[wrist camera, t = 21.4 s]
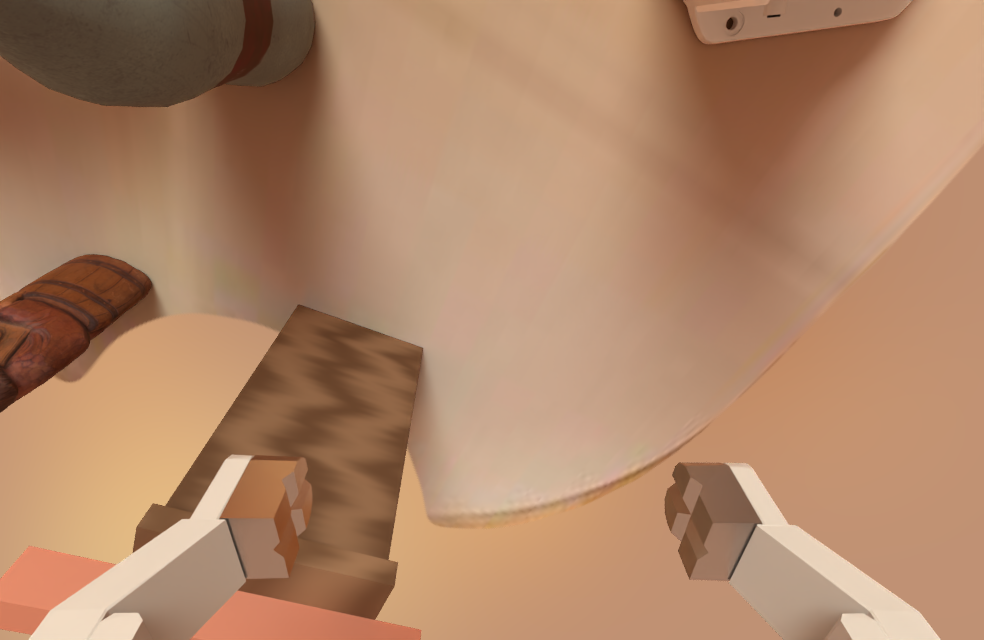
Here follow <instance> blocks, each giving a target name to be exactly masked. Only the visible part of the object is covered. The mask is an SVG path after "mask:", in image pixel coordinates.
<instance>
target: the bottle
mask: <svg viewBox="0 0 984 640" xmlns="http://www.w3.org/2000/svg"><path fill="white" fill-rule="evenodd" d="M314 28H315V20H314V11H313V3H312V1H311V0H0V56H2V57H3V58H4V59H5V60H7V61H8V62H9V63H11V64H12V65H13V66H14V67H16V68H17V69H19V70H20V71H22V72H23V73H25V74H27V75H28V76H30V77H31V78H33V79H34V80H36V81H38V82H39V83H41V84H42V85H44V86H45V87H47V88H48V89H51V90H54V91H57V92H60V93H63V94H66V95H69V96H71V97H74V98H77V99H80V100H84V101H88V102H92V103H96V104H100V105H106V106H132V107H169V106H172V105H175V104H178V103H181V102H183V101H186V100H189V99H192V98H195V97H197V96H199V95H201V94H203V93H204V92H206V91H208V90H210V89H212V88H215V87H217V86H220V85H222V84H230V85H240V86H264V85H267V84H270V83H273V82H276V81H279V80H281V79H282V78H284V77H285V76H287V75H288V74H290V73H291V72H292V71H293V70H294V69H296V68H297V67H298V66H299V65H300V64H301V63H302V62H303V61H304V59H305V57H306V55H307V53H308V51H309V50H310V48H311V45H312V39H313V34H314Z"/></svg>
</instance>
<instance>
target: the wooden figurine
mask: <svg viewBox="0 0 984 640" xmlns="http://www.w3.org/2000/svg"><path fill="white" fill-rule="evenodd" d="M150 288H151V281H150V279H149V278H148V277H147V276H146V275H145V274H144V273H143V272H141V271H140V270H137V269H135V268H134V267H132V266H130V265H129V264H127V263H126V262H124V261H121V260H118V259H114V258H111V257H109V256H103V255H95V254H92V255H84V256H80V257H77V258H75V259H73V260H70V261H69V262H67V263H65V264H63V265H61V266H60V267H58V268H56V269H54V270H53V271H51V272H49V273H47V274H45V275H43V276H42V277H40V278H38V279H37V280H35V281H34V282H32V283H30V284H28V285H27V286H25V287H24V288H22V289H21V290H20V291H19V292H17V293H14V294H12V295H11V296H9V297H7V298H5V299H4V300H2V301H0V412H2V411H3V410H5V409H6V408H7V407H8V406H9V405H11V404H12V403H14V402H15V401H16V400H18V399H20V398H22V397H23V396H25V395H26V394H28V393H30V392H31V391H32V390H34V389H35V388H37V387H38V386H40V385H42V384H44V383H45V382H46V381H48V379H50V378H52V377H53V376H54V375H55V374H56V373H58V372H59V371H61V370H62V369H64V368H65V367H66V366H68V365H69V364H70V363H71V362H72V361H74V360H75V359H76V358H78V357H79V356H80V355H81V354H82V353H84V352H85V351H86V350H87V348H88V347H89V344H90V340H91V339H93V338H95V337H96V336H97V335H99V334H100V333H101V332H103V331H104V330H105V329H106V328H107V327H108V326H110V325H111V324H112V323H113V322H114V321H115V320H116V319H118V318H119V317H120V316H121V315H122V314H124V313H125V312H126V311H127V310H129V309H130V308H132V307H133V306H134V305H136V304H137V303H138V302H139V301H140V300H141V299H143V298H144V297H145V296H146V295H147V294H148V292H149V291H150Z"/></svg>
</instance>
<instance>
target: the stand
mask: <svg viewBox="0 0 984 640" xmlns="http://www.w3.org/2000/svg"><path fill="white" fill-rule="evenodd" d="M422 351H423V348H421V347H419V346H416V345H413V344H410V343H407V342H404V341H401V340H399V339H396V338H393V337H390V336H387V335H384V334H381V333H379V332H376V331H373V330H370V329H367V328H364V327H361V326H359V325H356V324H353V323H350V322H347V321H344V320H341V319H339V318H336V317H333V316H330V315H327V314H324V313H321V312H319V311H316V310H313V309H310V308H307V307H304V306H301V305H298V306H297V308H296V309H295V311H294V312H293V314H292V315H291V317H290V318H289V320H288V321H287V323H286V324H285V326H284V327H283V329H282V330H281V332H280V333H279V335H278V336H277V338H276V339H275V341H274V342H273V344H272V345H271V347H270V349H269V350H268V352H267V353H266V354H265V356H264V358H263V359H262V361H261V362H260V364H259V365H258V367H257V368H256V370H255V371H254V373H253V374H252V376H251V377H250V379H249V380H248V382H247V383H246V385H245V386H244V388H243V389H242V391H241V392H240V394H239V395H238V397H237V398H236V400H235V401H234V403H233V405H232V406H231V408H230V409H229V410H228V412H227V413H226V415H225V416H224V418H223V419H222V421H221V423H220V424H219V426H218V427H217V429H216V430H215V432H214V433H213V435H212V436H211V438H210V439H209V441H208V442H207V444H206V445H205V447H204V448H203V450H202V451H201V453H200V454H199V456H198V457H197V459H196V460H195V462H194V463H193V465H192V466H191V468H190V469H189V471H188V473H187V474H186V475H185V477H184V479H183V480H182V481H181V483H180V485H179V486H178V487H177V489H176V491H175V492H174V494H173V495H172V497H171V498H170V500H169V501H168V503H167V504H166V506H162V505H158V504H152V506H151V507H150V509H149V510H148V511H147V513H146V514H145V516H144V517H143V518H142V520H141V521H140V523H139V524H138V526H137V528H136V534H135V541H134V548H133V553H134V552H135V551H137V550H138V549H140V548H141V547H142V546H144V545H145V544H147V543H148V542H150V541H151V540H153V539H154V538H155V537H157V536H158V535H160V534H161V533H163V532H164V531H166V530H167V529H168V528H170V527H171V526H173V525H174V524H176V523H177V522H179V521H180V520H181V519H190V518H191V516H192V514H193V513H194V511H195V509H196V508H197V506H198V504H199V502H200V501H201V499H202V497H203V496H204V494H205V492H206V491H207V489H208V487H209V486H210V484H211V482H212V481H213V479H214V477H215V476H216V474H217V472H218V471H219V469H220V467H221V466H222V464H223V462H224V461H225V460H226V459H227V458H228V457H229V456H231V455H254V456H255V455H264V456H289V457H303V458H305V459H306V463H307V467H308V471H307V473H306V476H305V480H307V481H308V482H309V483H310V484H311V488H312V508H311V514H310V518H309V522H308V525H307V528H306V530H304V531H303V532H302V533H301V534H300V535H299V536H297V539H298V543H299V551H298V554H297V557H296V559H295V562H294V565H293V568H292V571H291V574H290V577H289V578H264V579H246V582H245V583H244V584H243V585H242V586H241V587H240V588H239V589H238V590H237V591H242V592H247V593H251V594H256V595H261V596H265V597H270V598H275V599H279V600H284V601H289V602H293V603H298V604H303V605H307V606H312V607H317V608H321V609H326V610H331V611H335V612H340V613H345V614H349V615H354V616H359V617H363V618H368V619H373V620H375V619H376V617H377V615H378V614H379V612H380V610H381V609H382V607H383V605H384V603H385V601H386V600H387V598H388V596H389V595H390V593H391V591H392V589H393V588H394V585H395V579H396V571H397V565H398V563H397V562H394V561H390V560H388V559H389V553H390V546H391V540H392V534H393V528H394V522H395V516H396V509H397V504H398V498H399V492H400V485H401V479H402V473H403V466H404V461H405V455H406V449H407V443H408V437H409V431H410V425H411V418H412V412H413V406H414V400H415V394H416V388H417V382H418V376H419V370H420V364H421V357H422Z"/></svg>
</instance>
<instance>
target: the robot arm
mask: <svg viewBox="0 0 984 640" xmlns="http://www.w3.org/2000/svg"><path fill="white" fill-rule="evenodd" d="M683 1H684V3H685V5H686V6H687V9H688V12H689V16H690V19H691V23H692V26H693V29H694V31H695V34H696V36H697V37H698V39H699V40H700V41H701V42H702V43H705V44H718V43H725V42H733V41H740V40H747V39H755V38H762V37H770V36H777V35H785V34H792V33H799V32H807V31H814V30H822V29H829V28H836V27H844V26H851V25H859V24H866V23H873V22H879V21H884V20H889V19H892V18H894V17H896V16H898V15H899V14H900V13H901V12H902V11H903V10H904V9H905V8H906V7H907V6H908V5H909V4H910V3H911V2H912V1H913V0H683ZM730 17H731V18H732V19H733V26H732V27H731V29H729V30H728V29H727V27H726V22H727V20H728V19H729V18H730ZM307 471H308V467H307V463H306V459H305V458H303V457H289V456H264V455H255V456H254V455H231V456H229V457H228V458H227V459H226V460H225V461H224V462H223V464H222V466H221V467H220V469H219V471H218V472H217V474H216V476H215V477H214V479H213V481H212V482H211V484H210V486H209V487H208V489H207V491H206V492H205V494H204V496H203V497H202V499H201V501H200V502H199V504H198V506H197V508H196V509H195V511H194V513H193V514H192V516H191V518H190V519H181V520H180V521H179V522H177V523H176V524H174V525H173V526H171V527H170V528H168V529H167V530H166V531H164V532H163V533H161V534H160V535H158V536H157V537H155V538H154V539H153V540H151V541H150V542H148V543H147V544H145V545H144V546H142V547H141V548H140V549H138V550H137V551H135V552H134V553H132V554H131V555H130V556H128V557H127V558H125V559H124V560H122V561H121V562H119V563H118V564H116V565H115V566H114V567H112V568H111V569H109V570H108V571H106V572H105V573H103V574H102V575H101V576H99V577H98V578H96V579H95V580H93V581H92V582H90V583H89V584H88V585H86V586H85V587H83V588H82V589H80V590H79V591H78V592H76V593H75V594H73V595H72V596H70V597H69V598H67V599H66V600H65V601H63V602H62V603H60V604H59V605H57V606H56V607H54V608H53V609H52V610H50V611H49V613H48V614H47V616H46V617H45V618H44V620H43V621H42V622H41V624H40V625H39V626H38V628H37V629H36V630H35V632H34V633H33V634H32V636H31V637H30V638H29V640H190V639H191V638H192V637H193V636H194V635H195V634H196V633H197V631H198V630H199V629H200V628H201V627H202V626H203V625H204V624H205V623H206V622H207V621H208V620H209V619H210V618H211V617H212V616H213V615H214V614H215V613H216V612H217V611H218V610H219V609H220V608H221V607H222V606H223V605H224V604H225V603H226V602H227V601H228V600H229V599H230V598H231V597H232V596H233V594H234V593H235V592H236V591H237V590H238V589H239V588H240V587H241V586H242V585H243V584H244V583H245V582H246V579H264V578H289V577H290V574H291V571H292V568H293V565H294V562H295V559H296V557H297V554H298V551H299V543H298V539H297V536H299V535H300V534H301V533H302V532H303V531H304V530H306V528H307V525H308V522H309V518H310V514H311V508H312V488H311V484H310V483H309V482H308V481H307V480H305V476H306V473H307ZM673 477H674V480H675V482H676V483H675V484H673V485H672V486H671V487H670V488H668V490H667V493H666V497H665V515H666V519H667V523H668V526H669V528H670V531H671V533H672V534H673V535H675V536H676V537H677V538H678V539H679V540H680V541H681V544H680V547H679V550H678V552H679V554H680V557H681V559H682V562H683V564H684V567H685V569H686V572H687V574H688V577H689V579H690V580H719V581H730V582H729V584H730V585H731V586H732V587H733V588H734V589H735V590H736V591H737V592H738V593H739V594H740V595H741V596H742V597H743V598H744V599H745V600H746V601H747V602H748V603H749V604H750V605H751V606H752V607H753V608H754V609H755V611H756V612H757V613H758V614H759V615H760V616H761V617H762V618H763V619H764V620H765V621H766V622H767V623H768V624H769V625H770V626H771V627H772V628H773V629H774V630H775V631H776V632H777V633H778V634H779V635H780V636H781V637H782V638H783V640H941V639H940V638H939V637H938V635H937V634H936V633H935V632H934V630H933V629H932V628H931V626H930V625H929V624H928V622H927V621H926V620H925V619H924V617H923V616H922V615H921V613H920V612H919V611H917V610H916V609H914V608H913V607H912V606H910V605H909V604H907V603H906V602H905V601H903V600H902V599H900V598H899V597H897V596H896V595H895V594H893V593H892V592H890V591H889V590H887V589H886V588H884V587H883V586H882V585H880V584H879V583H877V582H876V581H875V580H873V579H872V578H870V577H869V576H868V575H866V574H865V573H863V572H862V571H860V570H859V569H858V568H856V567H855V566H853V565H852V564H851V563H849V562H848V561H846V560H845V559H843V558H842V557H840V556H839V555H838V554H836V553H835V552H833V551H832V550H831V549H829V548H828V547H826V546H825V545H823V544H822V543H821V542H819V541H818V540H816V539H815V538H814V537H812V536H811V535H809V534H808V533H806V532H805V531H804V530H802V529H801V528H799V527H798V526H796V525H789V524H788V523H787V521H786V519H785V518H784V516H783V515H782V513H781V512H780V510H779V509H778V507H777V506H776V504H775V503H774V501H773V499H772V498H771V496H770V495H769V493H768V492H767V490H766V489H765V487H764V485H763V484H762V482H761V481H760V479H759V478H758V476H757V475H756V473H755V472H754V470H753V468H752V467H751V466H750V465H748V464H747V463H678V464H677V465H676V466H675V469H674V472H673Z"/></svg>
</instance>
